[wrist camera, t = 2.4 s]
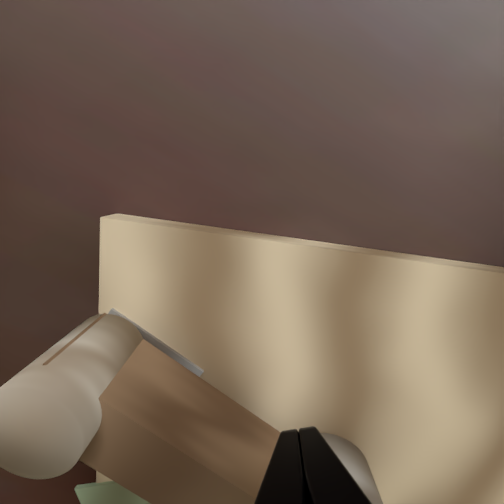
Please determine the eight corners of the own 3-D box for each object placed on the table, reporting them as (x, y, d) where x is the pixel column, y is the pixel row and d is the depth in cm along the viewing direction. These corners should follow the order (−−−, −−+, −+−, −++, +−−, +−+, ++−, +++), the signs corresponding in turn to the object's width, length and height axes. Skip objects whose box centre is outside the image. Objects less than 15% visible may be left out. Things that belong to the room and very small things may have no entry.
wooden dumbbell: (391, 470, 14) (459, 622, 9) (322, 531, 15) (351, 696, 10) (116, 277, 12) (22, 340, 7) (58, 360, 13) (-59, 464, 8)
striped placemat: (91, 555, 19) (75, 590, 17) (94, 210, 14) (72, 214, 12) (451, 606, 19) (468, 646, 17) (589, 279, 14) (632, 292, 12)
